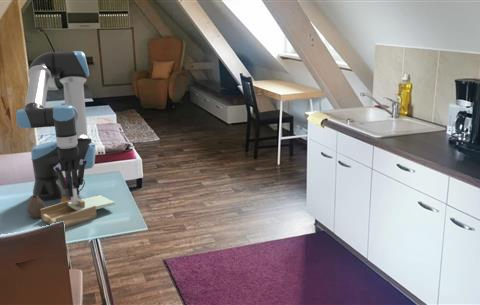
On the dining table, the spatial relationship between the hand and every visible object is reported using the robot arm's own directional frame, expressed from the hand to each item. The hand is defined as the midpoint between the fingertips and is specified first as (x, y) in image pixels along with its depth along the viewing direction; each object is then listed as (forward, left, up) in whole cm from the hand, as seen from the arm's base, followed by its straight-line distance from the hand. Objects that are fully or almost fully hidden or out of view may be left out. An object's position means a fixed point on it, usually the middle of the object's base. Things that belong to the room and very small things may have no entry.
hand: (74, 203), depth 189 cm
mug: (-15, +7, -6) cm, 17 cm away
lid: (0, +7, -3) cm, 7 cm away
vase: (-12, -10, -6) cm, 17 cm away
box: (0, -3, -6) cm, 6 cm away
